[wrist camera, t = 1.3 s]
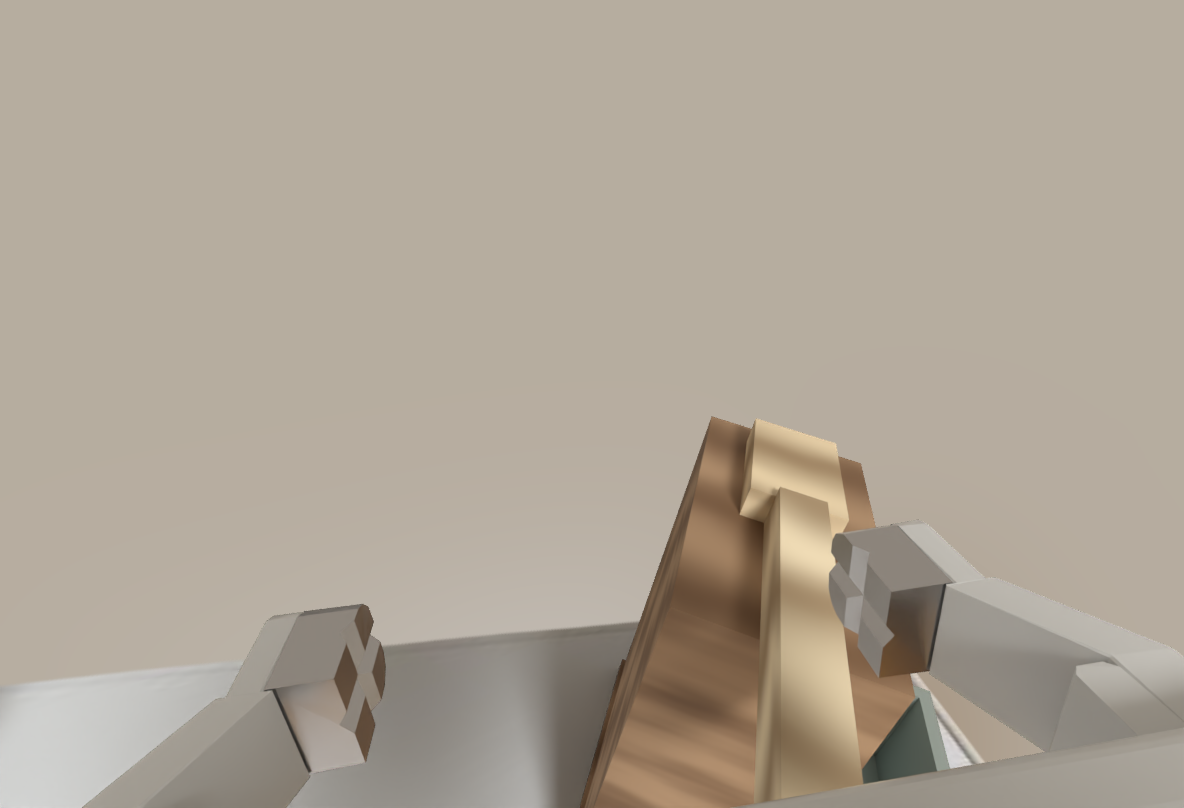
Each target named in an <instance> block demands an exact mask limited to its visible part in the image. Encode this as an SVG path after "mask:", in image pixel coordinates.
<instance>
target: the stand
mask: <svg viewBox="0 0 1184 808" xmlns="http://www.w3.org/2000/svg"><path fill="white" fill-rule="evenodd" d="M751 430H752V429H750V428H747V427H744V426H741V425H737V424H734V423H731V422H728V421H725V420H721V419H718V418H715V417H711V420H710V423H709V426H708V429H707V431H706V434H705V437H704V440H703V443H702V446H701V449H700V451H699V454H698V457H697V460H696V463H695V466H694V469H693V471H692V474H691V477H690V480H689V483H688V486H687V488H686V491H685V494H684V497H683V500H682V503H681V506H680V508H679V511H678V514H677V517H676V520H675V522H674V526H673V528H672V531H671V534H670V537H669V540H668V542H667V545H666V548H665V551H664V554H663V557H662V559H661V562H660V565H659V568H658V571H657V574H656V576H655V579H654V582H653V585H652V588H651V591H650V593H649V596H648V599H647V602H646V605H645V608H644V611H643V613H642V616H641V619H640V622H639V625H638V628H637V630H636V633H635V636H634V639H633V642H632V645H631V647H630V650H629V653H628V656H627V659H626V660H623V659H622V662H621V665H620V668H619V671H618V675H617V678H616V682H615V685H614V689H613V692H612V696H611V699H610V703H609V706H608V710H607V713H606V717H605V720H604V724H603V727H602V731H601V734H600V738H599V741H598V745H597V748H596V752H595V755H594V759H593V762H592V766H591V769H590V773H589V776H588V780H587V783H586V787H585V790H584V794H583V797H582V801H581V804H580V808H733V807H739V806H744V805H750V804H754V788H755V760H756V732H757V704H758V676H759V648H760V619H761V591H762V563H763V535H764V523H763V522H760V521H757V520H754V519H751V518H748V517H745V516H742V515H740V505H741V495H742V485H743V474H744V464H745V454H746V443H747V440H748V437H749V435H750V432H751ZM838 459H839V465H840V470H841V476H842V482H843V488H844V493H845V499H846V505H847V511H848V517H849V521H848V523H847V525H846V527H845V529H844V531H843V532H849V531H855V530H862V529H868V528H875V527H876V526H875V522H874V518H873V514H872V509H871V505H870V501H869V496H868V492H867V488H866V484H865V480H864V475H863V471H862V467H861V464H860V463H858V462H855V461H852V460H848V459H845V458H842V457H839V456H838ZM837 562H838V561H837V560H836V559H835V563H836V564H837ZM843 627H844V626H843ZM844 635H845V643H846V651H847V658H848V666H849V674H850V682H851V690H852V698H853V706H854V714H855V722H856V730H857V738H858V746H859V754H860V761H861V769H862V768H863V767H864V766H865V764H866V763H867V762H868V760H869V759H870V758H871V756H872V755H873V754H874V752H875V751H876V750H877V748H878V747H879V746H880V744H881V743H882V742H883V740H884V739H885V738H886V736H887V735H888V734H889V732H890V731H891V729H892V728H893V727H894V725H895V724H896V723H897V721H898V720H899V719H900V717H901V716H902V715H903V713H904V712H905V711H906V709H907V708H908V707H909V705H910V704H911V703H912V701H913V700H914V699H915V693H914V689H913V684H912V680H911V676H910V674H905V675H897V676H890V677H882V678H878V676H877V675H876V673H875V672H874V670H873V669H872V667H871V666H870V664H869V663H868V661H867V660H866V658H865V657H864V656H863V654H862V653H861V651H860V650H859V648H858V647H857V646H858V636H859V634H857V633H855V632H853V631H851V630H850V629H848V628H846V627H844Z"/></svg>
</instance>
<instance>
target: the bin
mask: <svg viewBox="0 0 1184 808" xmlns="http://www.w3.org/2000/svg"><path fill="white" fill-rule="evenodd" d="M913 689H914V693H915V699H914V700H913V701H912V703H911V704H910V705H909V707H908V708H907V709H906V711H905V712H904V713H903V715H902V716H901V717H900V719H899V720H898V721H897V723H896V724H895V725H894V727H893V728H892V729H891V731H890V732H889V734H888V735H887V736H886V738H885V739H884V740H883V742H882V743H881V744H880V746H879V747H878V748H877V750H876V751H875V752H874V754H873V755H872V756H871V758H870V759H869V760H868V762H867V763H866V764H865V766H864V767H863V768H862V777H863V784H868V783H874V782H879V781H885V780H890V779H896V778H902V777H907V776H913V775H919V774H924V773H930V772H935V771H941V770H947V769H950V767H949V763H948V759H947V755H946V751H945V748H944V744H943V740H942V736H941V732H940V728H939V725H938V721H937V717H936V713H935V709H934V706H933V702H932V698H931V694H930V691H927V690H924V689H922V688H919V687H916V686H913Z"/></svg>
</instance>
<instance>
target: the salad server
mask: <svg viewBox="0 0 1184 808" xmlns="http://www.w3.org/2000/svg"><path fill="white" fill-rule="evenodd" d="M740 515H742V516H745V517H748V518H751V519H754V520H757V521H760V522H763V523H764V535H763V563H762V591H761V619H760V648H759V676H758V704H757V732H756V760H755V788H754V804H755V803H761V802H767V801H772V800H778V799H784V798H789V797H795V796H800V795H806V794H812V793H817V792H823V791H829V790H834V789H840V788H845V787H851V786H857V785H862V784H863V777H862V769H861V761H860V754H859V746H858V738H857V730H856V722H855V714H854V706H853V698H852V690H851V682H850V674H849V666H848V658H847V651H846V643H845V635H844V627H843V624H842V622H841V621H840V619H839V618H838V616H837V614H836V612H835V610H834V608H833V605H832V602H831V598H830V593H829V588H828V587H829V572H830V571H831V570H832V569H833V567H834V566H835V565H836V563H835V557H834V556H833V555H832V553H831V547H832V540H833V538H834V536H835V534H836V533H843V531H844V529H845V527H846V525H847V523H848V521H849V517H848V511H847V505H846V499H845V493H844V488H843V482H842V476H841V470H840V465H839V459H838V453H837V447H836V443H833V442H830V441H826V440H823V439H820V438H817V437H814V436H810V435H807V434H804V433H801V432H798V431H795V430H791V429H788V428H785V427H782V426H779V425H775V424H772V423H769V422H766V421H763V420H759V419H756V420H755V422H754V425H753V427H752V430H751V432H750V435H749V437H748V440H747V443H746V454H745V464H744V474H743V485H742V495H741V505H740Z"/></svg>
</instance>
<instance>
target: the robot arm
mask: <svg viewBox="0 0 1184 808" xmlns="http://www.w3.org/2000/svg"><path fill="white" fill-rule="evenodd" d="M831 553H832V555H833V556H834V557H835V559H836V560H837V561H838V562H837V564H836V565H835V566H834V567H833V569H832V570H831V571H830V572H829V587H828V588H829V593H830V598H831V602H832V605H833V608H834V610H835V612H836V614H837V616H838V618H839V619H840V621H841V622H842V624H843V626H844V627H846V628H848V629H850V630H851V631H853V632H855V633H857V634H859V636H858V646H857V647H858V648H859V650H860V651H861V653H862V654H863V656H864V657H865V658H866V660H867V661H868V663H869V664H870V666H871V667H872V669H873V670H874V672H875V673H876V675H877V676H878V678H882V677H890V676H897V675H905V674H912V673H919V672H926V671H929V674H930V675H932V676H933V677H935V678H936V679H938V680H939V681H941V682H942V683H944V684H945V685H946V686H948V687H950V688H951V689H952V690H954V691H955V692H957V693H959V694H960V695H961V696H963V697H964V698H966V699H967V700H969V701H971V702H972V703H973V704H975V705H976V706H978V707H979V708H981V709H982V710H984V711H985V712H987V713H988V714H990V715H991V716H993V717H994V718H996V719H997V720H999V721H1000V722H1002V723H1003V724H1005V725H1006V726H1008V727H1009V728H1011V729H1012V730H1014V731H1015V732H1017V733H1018V734H1020V735H1021V736H1023V737H1024V738H1026V739H1027V740H1029V741H1030V742H1032V743H1033V744H1034V745H1036V746H1037V747H1039V748H1040V749H1042V750H1043V751H1045V752H1044V753H1038V754H1032V755H1026V756H1021V757H1015V758H1009V759H1004V760H998V761H993V762H987V763H981V764H975V765H970V766H964V767H958V768H953V769H947V770H941V771H935V772H930V773H924V774H919V775H913V776H907V777H902V778H896V779H890V780H885V781H879V782H874V783H868V784H862V785H857V786H851V787H845V788H840V789H834V790H829V791H823V792H817V793H812V794H806V795H800V796H795V797H789V798H784V799H778V800H772V801H767V802H761V803H755V804H750V805H744V806H739V807H733V808H1184V657H1183V656H1182V655H1181V654H1180V653H1178V652H1177V651H1176V650H1174V649H1173V648H1171V647H1169V646H1166V645H1164V644H1161V643H1159V642H1156V641H1154V640H1151V639H1149V638H1146V637H1144V636H1141V635H1139V634H1136V633H1134V632H1131V631H1129V630H1126V629H1124V628H1121V627H1118V626H1116V625H1114V624H1111V623H1109V622H1106V621H1104V620H1101V619H1099V618H1096V617H1094V616H1091V615H1088V614H1086V613H1084V612H1081V611H1079V610H1076V609H1073V608H1071V607H1068V606H1066V605H1063V604H1061V603H1058V602H1056V601H1053V600H1051V599H1048V598H1046V597H1043V596H1041V595H1038V594H1036V593H1033V592H1031V591H1028V590H1026V589H1023V588H1021V587H1018V586H1016V585H1013V584H1011V583H1008V582H1006V581H1003V580H1000V579H998V578H996V577H992V578H985V577H984V576H983V575H982V574H981V573H979V572H978V571H977V570H976V569H975V568H974V567H973V566H972V565H971V564H970V563H969V562H968V561H967V560H966V559H965V558H963V557H962V556H961V555H960V554H959V553H958V552H957V551H956V550H955V549H954V548H953V547H952V546H951V545H949V544H948V543H947V542H946V541H945V540H944V539H943V538H942V537H941V536H940V535H939V534H937V532H935V531H934V530H933V529H932V528H931V527H930V526H929V525H928V524H927V523H925V522H923V521H921V520H913V521H907V522H901V523H896V524H891V525H889V526H881V527H875V528H868V529H862V530H855V531H849V532H843V533H836V534H835V536H834V538H833V540H832V547H831ZM373 623H374V621H373V618H372V616H371V613H370V610H369V608H368V606H366V605H364V604H359V605H351V606H343V607H335V608H327V609H319V610H312V611H304V612H300V613H292V614H284V615H277V616H273V617H271V618H270V619H269V620H267V621H266V623H265V624H264V626H263V628H262V630H261V632H260V634H259V636H258V637H257V639H256V641H255V643H254V645H253V647H252V649H251V650H250V652H249V654H248V656H247V658H246V660H245V662H244V664H243V666H242V667H241V669H240V671H239V673H238V675H237V677H236V679H235V681H234V682H233V684H232V686H231V688H230V690H229V692H228V694H227V696H226V698H220V699H215V700H214V701H213V702H212V703H210V704H209V705H208V706H207V707H205V708H204V709H203V710H202V711H200V712H199V713H198V714H197V715H195V716H194V717H193V718H192V719H191V720H189V721H188V722H187V723H186V724H184V725H183V726H182V727H181V728H179V729H178V730H177V731H176V732H175V733H173V734H172V735H171V736H170V737H168V738H167V739H166V740H165V741H163V742H162V743H161V744H160V745H158V746H157V747H156V748H155V749H154V750H152V751H151V752H150V753H149V754H147V755H146V756H145V757H144V758H142V759H141V760H140V761H139V762H138V763H136V764H135V765H134V766H133V767H131V768H130V769H129V770H128V771H126V772H125V773H124V774H123V775H121V776H120V777H119V778H118V779H117V780H115V781H114V782H113V783H112V784H110V785H109V786H108V787H107V788H105V789H104V790H103V791H102V792H101V793H99V794H98V795H97V796H96V797H94V798H93V799H92V800H91V801H89V802H88V803H87V804H86V805H84V806H83V807H82V808H286V807H287V806H288V805H289V803H290V802H291V801H292V800H293V798H294V797H295V796H296V794H297V793H298V792H299V791H300V789H301V788H302V787H303V786H304V784H305V783H306V782H307V781H308V779H309V778H310V775H309V774H312V773H317V772H322V771H327V770H332V769H337V768H343V767H348V766H353V765H358V764H363V763H366V759H367V756H368V752H369V748H370V744H371V740H372V736H373V732H374V728H375V722H374V719H373V716H372V713H371V711H372V710H373V709H374V708H375V706H376V705H377V704H378V703H379V702H380V701H381V699H382V695H383V690H384V686H385V668H386V666H385V659H384V652H383V649H382V646H381V643H380V641H379V640H377V639H376V638H374V637H373V636H371V635H370V633H371V629H372V626H373Z"/></svg>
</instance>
